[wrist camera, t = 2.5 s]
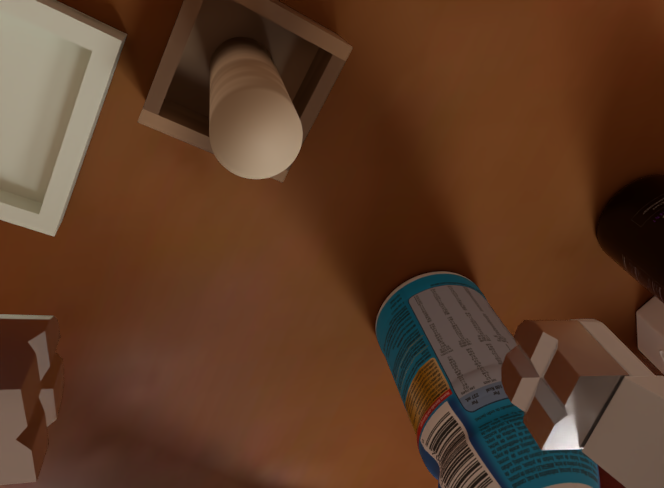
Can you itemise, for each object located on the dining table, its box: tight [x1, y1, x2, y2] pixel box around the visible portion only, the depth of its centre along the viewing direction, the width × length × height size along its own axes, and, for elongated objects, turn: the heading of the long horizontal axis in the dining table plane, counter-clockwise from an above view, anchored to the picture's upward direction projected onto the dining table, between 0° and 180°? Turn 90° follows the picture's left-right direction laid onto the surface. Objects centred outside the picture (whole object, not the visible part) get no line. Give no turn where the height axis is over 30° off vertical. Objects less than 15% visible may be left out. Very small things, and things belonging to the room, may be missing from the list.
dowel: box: [209, 37, 303, 179], centre depth 22 cm, size 3×3×10 cm
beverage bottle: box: [376, 271, 600, 488], centre depth 30 cm, size 8×8×20 cm
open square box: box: [138, 0, 353, 183], centre depth 26 cm, size 7×7×4 cm
